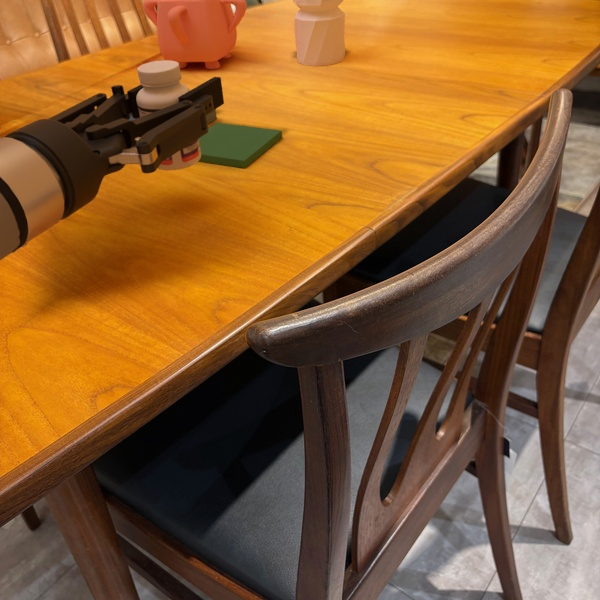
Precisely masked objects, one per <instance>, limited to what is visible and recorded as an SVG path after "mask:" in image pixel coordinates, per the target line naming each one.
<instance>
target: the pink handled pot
mask: <svg viewBox="0 0 600 600" xmlns="http://www.w3.org/2000/svg"><path fill="white" fill-rule="evenodd" d="M232 5H233V6H234V8H235V9H234V10H233V8H232ZM247 6H248V4H247V1H246V0H144V1H143V2H142V9H143V12H144V14H145V16H146V17H147V18H148V19H149V20H150V21H151V23H152V24H153V25H154V26H156V34H157V43H158V49H159V53H160V55H161V56H162V57H161V58H163V60H170V61H176V62H178V63H179V67H180V69H185V68H187V66H188V63H204V66H205V69H207V70H215V69H219V68H220V67H221V65H220V62H219V61H220V60H221V59H222V60H223V59H229V58H232V55H231V52H232V51H233V50H234V48H235V47H236V43H237V38H238V31H237V27H238V25H239V24H240V23H241V21H242V20H243V18H244V16H245V14H246V12H247V8H248V7H247ZM155 7H156V8H157V9H155ZM233 11H234V12H233Z"/></svg>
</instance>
